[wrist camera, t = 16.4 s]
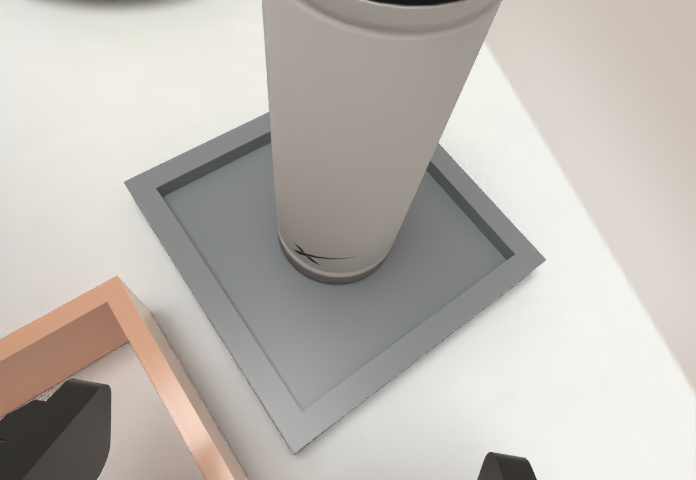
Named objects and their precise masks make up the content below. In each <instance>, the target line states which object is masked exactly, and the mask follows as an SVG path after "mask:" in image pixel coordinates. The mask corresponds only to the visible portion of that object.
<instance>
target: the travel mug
mask: <svg viewBox="0 0 696 480" xmlns="http://www.w3.org/2000/svg"><path fill="white" fill-rule="evenodd" d="M501 1H502V0H262V9H263V24H264V39H265V54H266V69H267V83H268V98H269V113H270V128H271V143H272V157H273V172H274V187H275V202H276V216H277V231H278V240H279V243H280V246H281V249H282V251H283V253H284V255H285V256H286V258H287V260H288V261H289V262H290V263H291V264H292V265H293V266H294V267H295V268H296V269H297V270H298V271H300V272H301V273H303V274H304V275H306V276H308V277H310V278H312V279H314V280H317V281H321V282H324V283H332V284H343V283H351V282H354V281H358V280H361V279H363V278H365V277H367V276H368V275H370V274H372V273H373V272H374V271H375V270H377V269H378V268H379V267H380V266H381V265H382V263H383V262H384V261H385V259H386V258H387V256H388V254H389V251H390V249H391V247H392V245H393V243H394V240H395V238H396V236H397V234H398V231H399V229H400V227H401V225H402V223H403V220H404V218H405V216H406V214H407V211H408V209H409V207H410V205H411V202H412V200H413V198H414V196H415V194H416V191H417V189H418V187H419V185H420V182H421V180H422V178H423V176H424V173H425V171H426V169H427V167H428V164H429V162H430V160H431V158H432V156H433V153H434V151H435V149H436V147H437V144H438V142H439V140H440V138H441V135H442V133H443V131H444V129H445V127H446V124H447V122H448V120H449V118H450V115H451V113H452V111H453V109H454V106H455V104H456V102H457V100H458V97H459V95H460V93H461V91H462V89H463V86H464V84H465V82H466V80H467V77H468V75H469V73H470V71H471V68H472V66H473V64H474V62H475V59H476V57H477V55H478V53H479V51H480V48H481V46H482V44H483V42H484V39H485V37H486V35H487V33H488V30H489V28H490V26H491V24H492V21H493V19H494V17H495V15H496V12H497V10H498V8H499V6H500V4H501Z"/></svg>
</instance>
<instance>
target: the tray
mask: <svg viewBox="0 0 696 480" xmlns="http://www.w3.org/2000/svg"><path fill="white" fill-rule="evenodd" d="M124 183H125V185H126V187H127V188H128V190H129V192H130V193H131V195H132V197H133V198H134V200H135V202H136V203H137V205H138V206H139V208H140V210H141V211H142V213H143V214H144V216H145V218H146V219H147V221H148V222H149V224H150V226H151V227H152V229H153V230H154V232H155V234H156V235H157V237H158V238H159V240H160V242H161V243H162V245H163V246H164V248H165V250H166V251H167V253H168V254H169V256H170V258H171V259H172V261H173V262H174V264H175V266H176V267H177V269H178V270H179V272H180V273H181V275H182V277H183V278H184V280H185V281H186V283H187V285H188V286H189V288H190V289H191V291H192V293H193V294H194V296H195V297H196V299H197V301H198V302H199V304H200V305H201V307H202V309H203V310H204V312H205V313H206V315H207V317H208V318H209V320H210V321H211V323H212V325H213V326H214V328H215V329H216V331H217V333H218V334H219V336H220V337H221V339H222V341H223V342H224V344H225V345H226V347H227V348H228V350H229V352H230V353H231V355H232V356H233V358H234V360H235V361H236V363H237V364H238V366H239V368H240V369H241V371H242V372H243V374H244V376H245V377H246V379H247V380H248V382H249V384H250V385H251V387H252V388H253V390H254V392H255V393H256V395H257V396H258V398H259V400H260V401H261V403H262V404H263V406H264V408H265V409H266V411H267V412H268V414H269V416H270V417H271V419H272V420H273V422H274V423H275V425H276V427H277V428H278V430H279V431H280V433H281V435H282V436H283V438H284V439H285V441H286V443H287V444H288V446H289V447H290V449H291V451H292V452H293V454H296V453H297V452H298V451H299V450H301V449H302V448H303V447H305V446H306V445H307V444H309V443H310V442H311V441H312V440H314V439H315V438H316V437H318V436H319V435H320V434H322V433H323V432H324V431H325V430H327V429H328V428H329V427H331V426H332V425H333V424H335V423H336V422H337V421H339V420H340V419H341V418H342V417H344V416H345V415H346V414H348V413H349V412H350V411H352V410H353V409H354V408H355V407H357V406H358V405H359V404H361V403H362V402H363V401H365V400H366V399H367V398H368V397H370V396H371V395H372V394H374V393H375V392H376V391H378V390H379V389H380V388H381V387H383V386H384V385H385V384H387V383H388V382H389V381H391V380H392V379H393V378H394V377H396V376H397V375H398V374H400V373H401V372H402V371H404V370H405V369H406V368H407V367H409V366H410V365H411V364H413V363H414V362H415V361H417V360H418V359H419V358H420V357H422V356H423V355H424V354H426V353H427V352H428V351H430V350H431V349H432V348H434V347H435V346H436V345H437V344H439V343H440V342H441V341H443V340H444V339H445V338H447V337H448V336H449V335H450V334H452V333H453V332H454V331H456V330H457V329H458V328H460V327H461V326H462V325H463V324H465V323H466V322H467V321H469V320H470V319H471V318H473V317H474V316H475V315H476V314H478V313H479V312H480V311H482V310H483V309H484V308H486V307H487V306H488V305H489V304H491V303H492V302H493V301H495V300H496V299H497V298H499V297H500V296H501V295H502V294H504V293H505V292H506V291H508V290H509V289H510V288H512V287H513V286H514V285H516V284H517V283H518V282H519V281H521V280H522V279H523V278H525V277H526V276H527V275H529V274H530V273H531V272H532V271H533V270H535V269H536V268H537V267H538V266H540V265H541V264H542V263H543V262H544V261H546V259H545V258H544V257H543V256H542V255H541V254H540V253H539V252H538V251H537V249H536V248H535V247H534V246H533V245H532V244H531V243H530V242H529V241H528V240H527V239H526V238H525V236H524V235H523V234H522V233H521V232H520V231H519V230H518V229H517V228H516V227H515V226H514V225H513V223H512V222H511V221H510V220H509V219H508V218H507V217H506V216H505V215H504V214H503V213H502V212H501V210H500V209H499V208H498V207H497V206H496V205H495V204H494V203H493V202H492V201H491V200H490V199H489V198H488V196H487V195H486V194H485V193H484V192H483V191H482V190H481V189H480V188H479V187H478V186H477V185H476V183H475V182H474V181H473V180H472V179H471V178H470V177H469V176H468V175H467V174H466V173H465V172H464V170H463V169H462V168H461V167H460V166H459V165H458V164H457V163H456V162H455V161H454V160H453V159H452V157H451V156H450V155H449V154H448V153H447V152H446V151H445V150H444V149H443V148H442V147H441V146H440V144H439V143H438V144H437V147H436V149H435V151H434V153H433V156H432V158H431V160H430V162H429V164H428V167H427V169H426V171H425V173H424V176H423V178H422V180H421V182H420V185H419V187H418V189H417V191H416V194H415V196H414V198H413V200H412V202H411V205H410V207H409V209H408V211H407V214H406V216H405V218H404V220H403V223H402V225H401V227H400V229H399V231H398V234H397V236H396V238H395V240H394V243H393V245H392V247H391V249H390V251H389V254H388V256H387V258H386V259H385V261H384V262H383V263H382V265H381V266H380V267H379V268H378V269H377V270H375V271H374V272H373V273H372V274H370V275H368V276H367V277H365V278H363V279H361V280H358V281H354V282H351V283H343V284H332V283H324V282H321V281H317V280H314V279H312V278H310V277H308V276H306V275H304V274H303V273H301V272H300V271H298V270H297V269H296V268H295V267H294V266H293V265H292V264H291V263H290V262H289V261H288V260H287V258H286V256H285V255H284V253H283V251H282V249H281V246H280V243H279V240H278V231H277V216H276V202H275V187H274V172H273V157H272V143H271V128H270V113H269V112H268V113H266V114H264V115H262V116H260V117H258V118H256V119H254V120H252V121H250V122H247V123H245V124H243V125H241V126H239V127H237V128H235V129H233V130H231V131H229V132H227V133H225V134H223V135H220V136H218V137H216V138H214V139H212V140H210V141H208V142H206V143H204V144H202V145H200V146H198V147H196V148H193V149H191V150H189V151H187V152H185V153H183V154H181V155H179V156H177V157H175V158H173V159H171V160H169V161H166V162H164V163H162V164H160V165H158V166H156V167H154V168H152V169H150V170H148V171H146V172H144V173H141V174H139V175H137V176H135V177H133V178H131V179H129V180H127V181H125V182H124Z"/></svg>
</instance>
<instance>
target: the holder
mask: <svg viewBox="0 0 696 480" xmlns="http://www.w3.org/2000/svg"><path fill="white" fill-rule="evenodd" d="M128 341H129V342H130V344H131V346H132V347H133V349H134V351H135V353H136V355H137V356H138V358H139V360H140V362H141V364H142V365H143V367H144V369H145V371H146V373H147V374H148V376H149V378H150V380H151V382H152V383H153V385H154V387H155V389H156V391H157V392H158V394H159V396H160V398H161V400H162V401H163V403H164V405H165V407H166V409H167V410H168V412H169V414H170V416H171V417H172V419H173V421H174V423H175V425H176V426H177V428H178V430H179V432H180V434H181V435H182V437H183V439H184V441H185V443H186V444H187V446H188V448H189V450H190V452H191V453H192V455H193V457H194V459H195V461H196V462H197V464H198V466H199V468H200V470H201V471H202V473H203V475H204V477H205V479H206V480H249V479H248V478H247V476H246V474H245V473H244V471H243V469H242V467H241V466H240V464H239V462H238V461H237V459H236V457H235V455H234V454H233V452H232V450H231V449H230V447H229V445H228V443H227V442H226V440H225V438H224V437H223V435H222V433H221V432H220V430H219V428H218V426H217V425H216V423H215V421H214V420H213V418H212V416H211V414H210V413H209V411H208V409H207V408H206V406H205V404H204V402H203V401H202V399H201V397H200V396H199V394H198V392H197V391H196V389H195V387H194V385H193V384H192V382H191V380H190V379H189V377H188V375H187V373H186V372H185V370H184V368H183V367H182V365H181V363H180V361H179V360H178V358H177V356H176V355H175V353H174V351H173V350H172V348H171V346H170V344H169V343H168V341H167V339H166V338H165V336H164V334H163V332H162V331H161V329H160V327H159V326H158V324H157V322H156V320H155V319H154V317H153V315H152V314H151V312H150V311H149V310H148V308H147V307H146V306H145V305H144V304H143V303H142V302H141V301H140V300H139V299H138V298H137V297H136V296H135V294H134V293H133V292H132V291H131V290H130V289H129V288H128V287H127V286H126V285H125V284H124V283H123V281H122V280H121V279H120V278H119V277H118V276H116V277H114V278H112V279H110V280H109V281H107V282H105V283H103V284H101V285H99V286H98V287H96V288H94V289H92V290H90V291H88V292H87V293H85V294H83V295H81V296H79V297H77V298H76V299H74V300H72V301H70V302H68V303H66V304H65V305H63V306H61V307H59V308H57V309H55V310H54V311H52V312H50V313H48V314H46V315H44V316H43V317H41V318H39V319H37V320H35V321H33V322H32V323H30V324H28V325H26V326H24V327H22V328H21V329H19V330H17V331H15V332H13V333H11V334H10V335H8V336H6V337H4V338H2V339H0V418H1V417H3V416H4V415H6V414H8V413H9V412H11V411H13V410H14V409H16V408H18V407H19V406H21V405H23V404H24V403H26V402H28V401H29V400H31V399H33V398H34V397H36V396H38V395H39V394H41V393H43V392H44V391H46V390H48V389H49V388H51V387H53V386H54V385H56V384H58V383H60V382H61V381H63V380H65V379H66V378H68V377H70V376H71V375H73V374H75V373H76V372H78V371H80V370H81V369H83V368H85V367H86V366H88V365H90V364H91V363H93V362H95V361H96V360H98V359H100V358H101V357H103V356H105V355H106V354H108V353H110V352H111V351H113V350H115V349H117V348H118V347H120V346H122V345H123V344H125V343H127V342H128Z"/></svg>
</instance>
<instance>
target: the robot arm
mask: <svg viewBox="0 0 696 480" xmlns="http://www.w3.org/2000/svg"><path fill="white" fill-rule="evenodd" d="M110 436H111V389H110V386H109V385H106V384H100V383H94V382H88V381H82V380H77V379H69V380H68V381H66V382H65V383H64V384H63V385H62V386H61V387H60V388H59V389H58V390H57V391H56V392H55V393H54V394H53V395H52V396H51V397H50V398H49V399H48V400H47V401H46V402H45V401H39V400H33V401H32V402H30V403H28V404H26V405H24V406H22V407H21V408H19V409H17V410H15V411H13V412H11V413H9V414H8V415H6V416H5V417H4V418H3V419H2V420H1V421H0V480H97V478H98V477H99V475H100V473H101V471H102V469H103V467H104V465H105V462H106V460H107V457H108V453H109V449H110ZM477 480H537V479H536V477H535V474H534V472H533V470H532V467H531V465H530V463H529V461H528V460H527V459H526V458H523V457H517V456H511V455H505V454H499V453H494V452H489V453H488V454H487V455H486V457H485V459H484V462H483V465H482V468H481V471H480V474H479V476H478V479H477Z"/></svg>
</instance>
